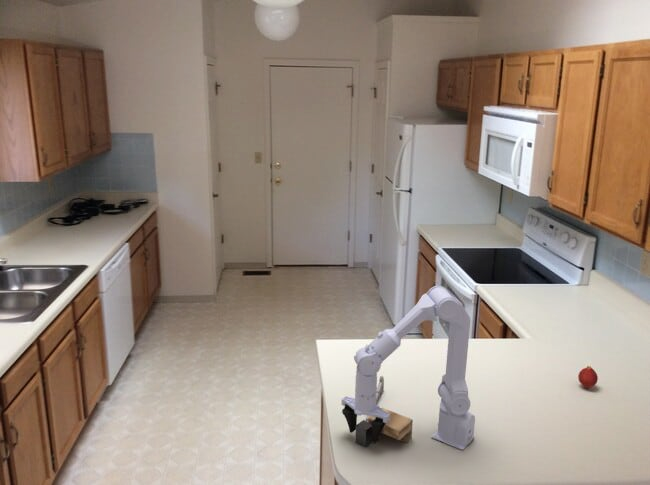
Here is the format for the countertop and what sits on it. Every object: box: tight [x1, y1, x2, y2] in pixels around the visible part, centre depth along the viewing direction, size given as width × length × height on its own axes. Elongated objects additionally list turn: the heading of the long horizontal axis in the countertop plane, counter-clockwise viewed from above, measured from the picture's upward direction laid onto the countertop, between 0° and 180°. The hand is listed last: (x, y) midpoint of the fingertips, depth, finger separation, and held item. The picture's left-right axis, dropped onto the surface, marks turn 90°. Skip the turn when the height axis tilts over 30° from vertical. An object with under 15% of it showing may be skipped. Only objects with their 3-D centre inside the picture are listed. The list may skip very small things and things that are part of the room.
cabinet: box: [368, 407, 414, 444], centre depth 161 cm, size 10×7×6 cm
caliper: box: [365, 375, 385, 422], centre depth 177 cm, size 20×1×6 cm, turn 162°
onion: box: [577, 365, 599, 389], centre depth 190 cm, size 6×6×8 cm
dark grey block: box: [354, 419, 382, 449], centre depth 160 cm, size 8×4×6 cm, turn 139°
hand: (364, 436), depth 159 cm, fingers open, 7 cm apart
